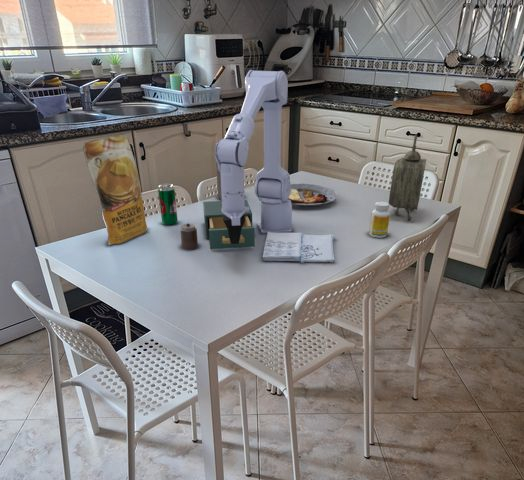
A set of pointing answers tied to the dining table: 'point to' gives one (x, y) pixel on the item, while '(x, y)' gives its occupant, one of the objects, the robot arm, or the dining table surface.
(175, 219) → the soda can
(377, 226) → the supplement bottle
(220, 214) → the cabinet
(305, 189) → the food plate
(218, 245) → the drawer
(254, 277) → the dining table surface
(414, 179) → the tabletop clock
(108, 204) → the pancake mix bag
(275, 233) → the open sketchbook
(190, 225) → the pepper mill
